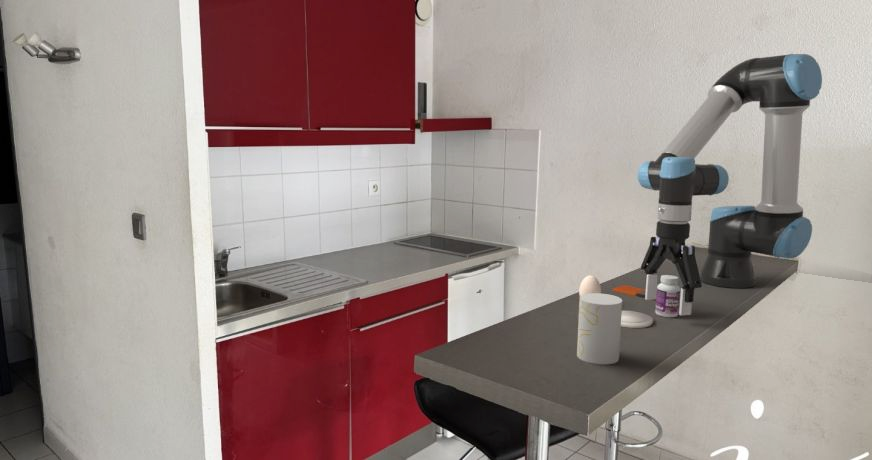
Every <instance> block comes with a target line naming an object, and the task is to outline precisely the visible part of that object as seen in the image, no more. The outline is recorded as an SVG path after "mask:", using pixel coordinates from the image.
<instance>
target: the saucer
mask: <svg viewBox="0 0 872 460" xmlns="http://www.w3.org/2000/svg"><path fill="white" fill-rule="evenodd" d="M653 324H654V319H653V317H652V316H650V315H648V314H646V313H642V312H639V311H633V310H622V315H621V327H623V328H627V329H628V328H629V329H644V328H647V327H651V326H652V325H653Z"/></svg>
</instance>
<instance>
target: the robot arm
mask: <svg viewBox="0 0 872 460" xmlns="http://www.w3.org/2000/svg"><path fill="white" fill-rule="evenodd" d="M822 84H823V75H822V70H821V67H820V65H819V62H817V60H816V58H814V56H812V55H810V54H808V53H807V54H806V53H789V54H781V55H775V56H773V55H771V56H766V57H754V58H750V59H746V60H744V61H742V62H740V63H738V64H737V65H735V66H733V67H732V68H731V69H729V70H728V71H726V73H724V74H723V75H722V76H720V78H719V79H717V80H716V82H715V83H714V84H712V86H710V87H711V88H709V90H708V91H707V98H706V99H705V100H704V102H703V103H702V104H701V105H700V106H699V107H698V108H697V110H696V111H695V112H694V114H693V115H692V116H691V117H690V119H689V120H688V121H687V122H686V123H685V125H683V127H682V128H681V130H680V131H679V132H678V133H677V134H676V136H675V137H674V138H673V139H672V140H671V141H670V143H669V144H668V145H667V146H666V148H665V149H664V150H663V151H662V153H661V154H660V155H659V156H658V157H657V158H656V160H649V161H645V162H643V163H642V164H641V165H640V166H639V168H638V171H637V181H638V183H639V185H640V186H641V187H642V188H643V189H647V190H652V191H658V196H659V197H658V206H657V219H658V221H657V222H656V228H655V235H656V236H651V237H650V241H649V245H648V248H647V251H646V253H645V256H644V258H643V261H642V263H641V265H640V269H641V270H642V271H644V273H645V290H646V293H645V298H644V300H647V301H653V300H652V299H656V292H657V286H658V276H659V274H658V270H659V268H660V267H661V266H662V265H663V263H664V262H665V260H666V259H667V260H668V261H671V262H672V264H674V265H675V268H676V270H677V273H678V276H679V278H680V281H681V283H682V285H683V286H682V287H680V300H679V311H678V316H691V315H692V307H693V302H694V296H695V289H699V288H700V289H701V288H702V286H703V283H705V284H707V285H712V286H717V287H721V288H722V287H723V288H732V289H743V288H744V289H745V288H747V289H748V288H752V287H755V285H756V275H755V271H754V268H753V267H754V266H753V263H752V259H751V258H752V253H754V254H761V255H765V256H771V257H774V258H778V259H779V258H784V259H794V258H797V257H799V256H800V255H801V254H802V253H803V252H804V251H805V250H806V249H807V247H808V246H809V243H810V240H811V237H812V233H813V225H812V221H811V219H809V218H807V217H805V216H804V208H803V207H802V206H801V205H800V204H799V203H798V195H799V178H800V176H799V175H800V163H801V161H800V159H801V147H802V146H801V144H802V129H803V128H802V125H803V114H804V113H805V111H806V110H807V109H809V108H810V107H811V106H810V105H811V104H810V103H811V101H812V100H813V99H816V98H817V97H818V96H819V94H820V91H821V89H822V86H823V85H822ZM752 102H759V106H758V107H759V110H760V111H761V112H762V113H763V114H764V115H765V116H764V135H763V137H764V138H763V155H762V156H763V157H762V173H761V174H762V175H761V176H762V177H761V197H760V198H761V199H760V203H759V204H757V205H756V206H755V205H732V206H728V205H727V206H726V205H725V206H717V207H714V208H713V209H712V210H711V216H710V220H709V236H708V245H707V248H708V249H707V256H706V258H705V261H704V263H703V265H702V268H701V270H700V271H699V267H698V263H697V259H696V252H695V251H696V250H695V249H696V247H695V245H686V240H687V239H689V238H690V231H691V230H690V229H691V224H690V221H691V220H692V209H693V208H692V207H693V196H694V197H695V196H710V197H711V196H713V195H718V194H720V193H722V192H724V191H725V190H726V189H727V186H729V181H730V178H729V174H728V173H729V172H728V171H727V170H726V168H724V167H723V166H722V165H719V164H713V163H708V164H697V163H696V160H695V158H696V157H697V156H698V155H699V154H700V152H701V151H702V150H703V149H704V147H706V145H707V144H708V143H709V141H710V140H711V139H712V137H714V135H715V134H716V132H717V131H718V130H719V129H720V128H721V126H723V124H724V123H725V122H726V120H727V119H728V118H729V117H730V115H731V114H732V113H735V112H736V113H737V112H738V111H739V110H740V109H741V108H742V106H743V105H746V104H747V103H752ZM702 282H703V283H702Z"/></svg>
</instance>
